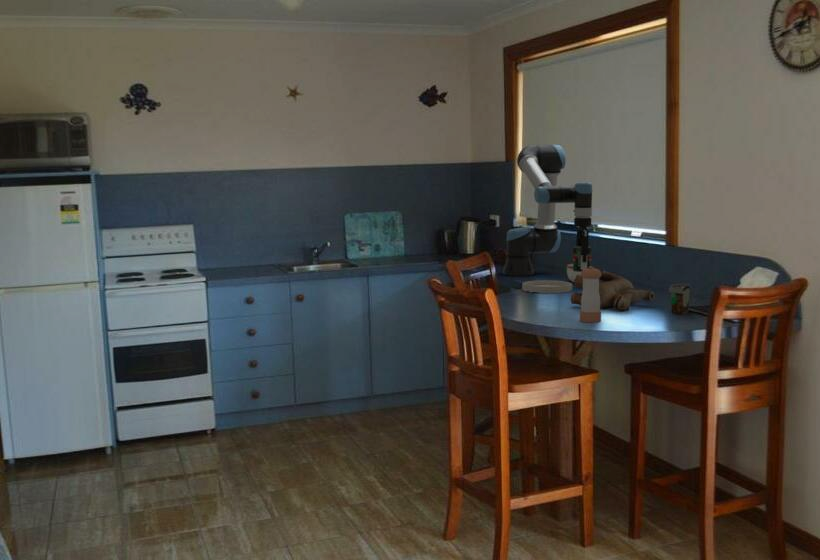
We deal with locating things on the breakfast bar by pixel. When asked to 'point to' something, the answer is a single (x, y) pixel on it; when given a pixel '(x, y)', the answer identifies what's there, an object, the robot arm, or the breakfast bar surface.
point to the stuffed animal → (614, 292)
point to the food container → (680, 298)
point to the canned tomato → (578, 258)
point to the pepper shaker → (590, 296)
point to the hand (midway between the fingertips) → (581, 268)
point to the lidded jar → (572, 272)
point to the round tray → (547, 286)
